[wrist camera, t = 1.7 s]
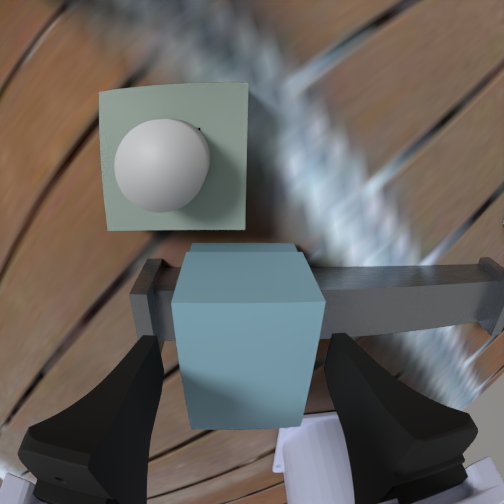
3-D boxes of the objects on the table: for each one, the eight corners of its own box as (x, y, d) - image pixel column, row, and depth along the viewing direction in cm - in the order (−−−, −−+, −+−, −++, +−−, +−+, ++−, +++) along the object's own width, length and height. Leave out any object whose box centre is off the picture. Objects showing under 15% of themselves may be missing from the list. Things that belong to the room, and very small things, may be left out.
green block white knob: (243, 212, 16) (247, 250, 12) (124, 213, 15) (89, 250, 11) (246, 88, 13) (252, 75, 9) (119, 94, 13) (76, 89, 9)
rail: (473, 306, 19) (499, 334, 16) (156, 320, 18) (143, 362, 15) (489, 257, 18) (521, 281, 15) (147, 258, 16) (129, 294, 13)
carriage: (283, 346, 19) (300, 426, 13) (199, 346, 18) (191, 428, 13) (294, 235, 16) (325, 301, 10) (191, 235, 16) (171, 302, 10)
